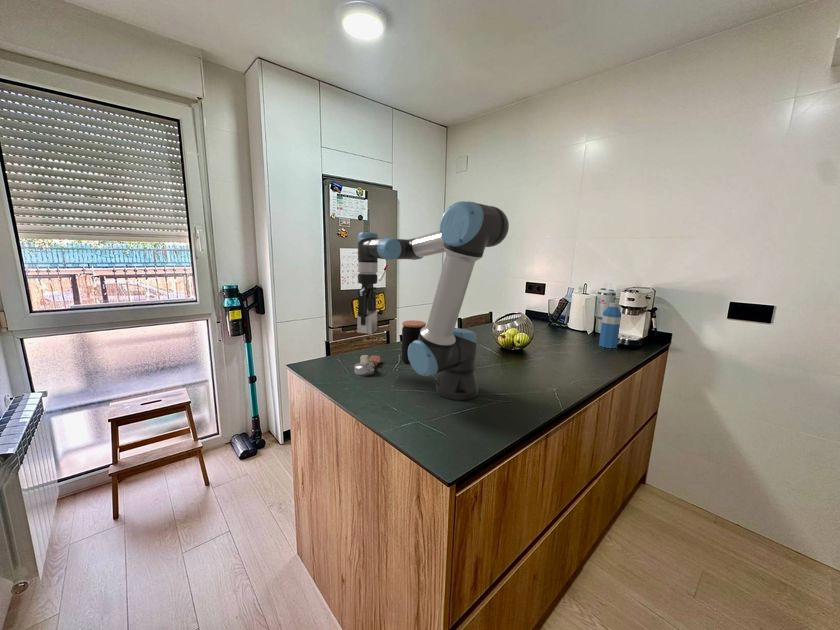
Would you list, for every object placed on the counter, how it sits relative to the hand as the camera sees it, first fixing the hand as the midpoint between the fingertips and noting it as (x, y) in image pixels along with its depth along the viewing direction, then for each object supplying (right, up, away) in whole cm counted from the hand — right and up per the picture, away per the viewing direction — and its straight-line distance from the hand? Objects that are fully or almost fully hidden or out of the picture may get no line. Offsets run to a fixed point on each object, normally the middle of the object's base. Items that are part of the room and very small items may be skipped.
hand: (367, 330), depth 133 cm
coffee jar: (+18, -15, +19) cm, 30 cm away
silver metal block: (0, 0, 0) cm, 0 cm away
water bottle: (+126, -12, +52) cm, 137 cm away
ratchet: (-1, -16, +8) cm, 18 cm away
